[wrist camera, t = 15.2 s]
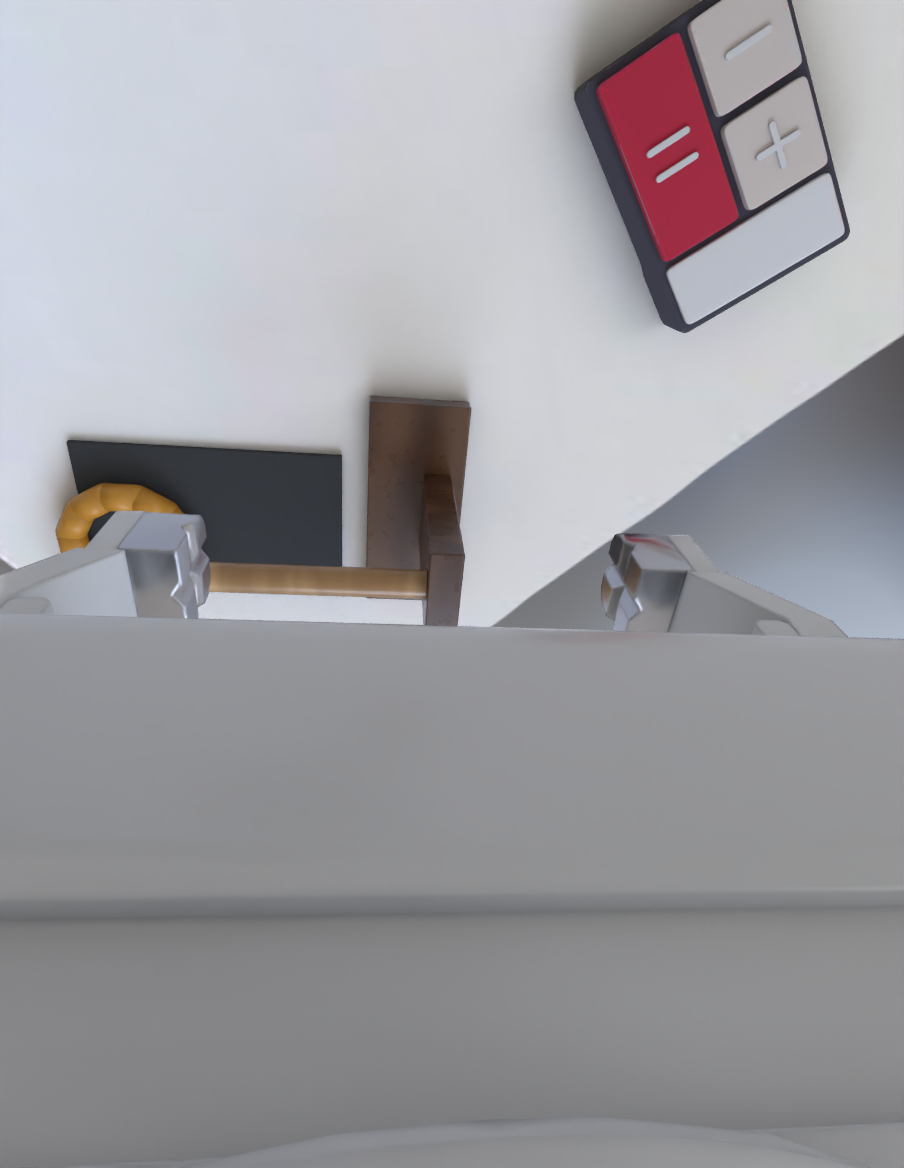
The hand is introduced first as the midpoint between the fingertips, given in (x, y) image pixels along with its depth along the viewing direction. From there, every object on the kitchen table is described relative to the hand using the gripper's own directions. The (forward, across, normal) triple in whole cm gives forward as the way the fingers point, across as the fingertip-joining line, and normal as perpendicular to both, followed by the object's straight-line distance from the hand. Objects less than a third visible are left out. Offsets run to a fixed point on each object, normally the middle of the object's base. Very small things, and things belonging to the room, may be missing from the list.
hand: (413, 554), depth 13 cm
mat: (+35, +14, +17) cm, 41 cm away
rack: (+35, +3, +15) cm, 38 cm away
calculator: (+35, -18, -8) cm, 40 cm away
